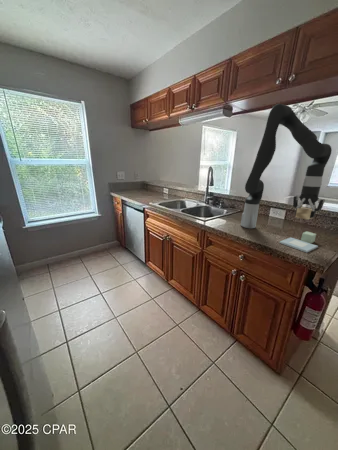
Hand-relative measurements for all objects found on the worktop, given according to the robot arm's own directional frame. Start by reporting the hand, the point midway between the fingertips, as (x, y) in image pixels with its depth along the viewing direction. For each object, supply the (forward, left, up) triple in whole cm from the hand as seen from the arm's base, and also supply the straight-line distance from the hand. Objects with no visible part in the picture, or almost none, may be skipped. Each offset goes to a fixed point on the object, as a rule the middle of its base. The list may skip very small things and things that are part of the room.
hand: (304, 216), depth 101 cm
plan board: (+1, -3, -16) cm, 16 cm away
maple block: (0, 0, -1) cm, 1 cm away
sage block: (+1, +8, -16) cm, 18 cm away
